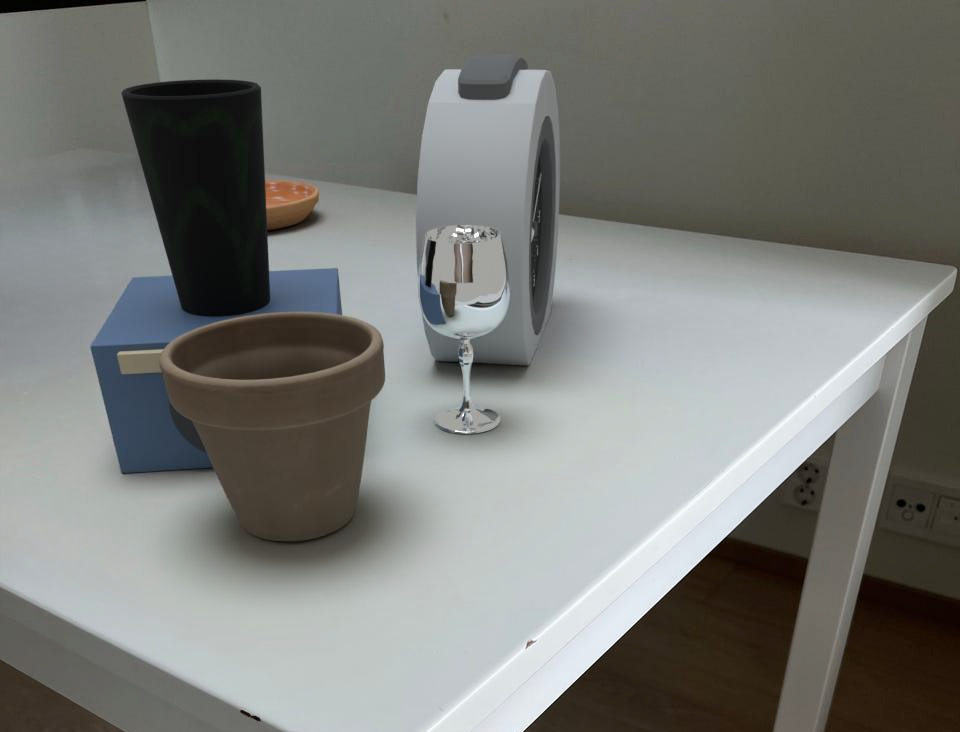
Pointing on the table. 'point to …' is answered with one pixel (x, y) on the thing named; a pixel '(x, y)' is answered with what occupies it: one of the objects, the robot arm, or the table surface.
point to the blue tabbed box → (136, 370)
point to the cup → (206, 188)
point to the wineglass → (464, 304)
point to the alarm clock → (496, 188)
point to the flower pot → (281, 413)
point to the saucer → (288, 202)
